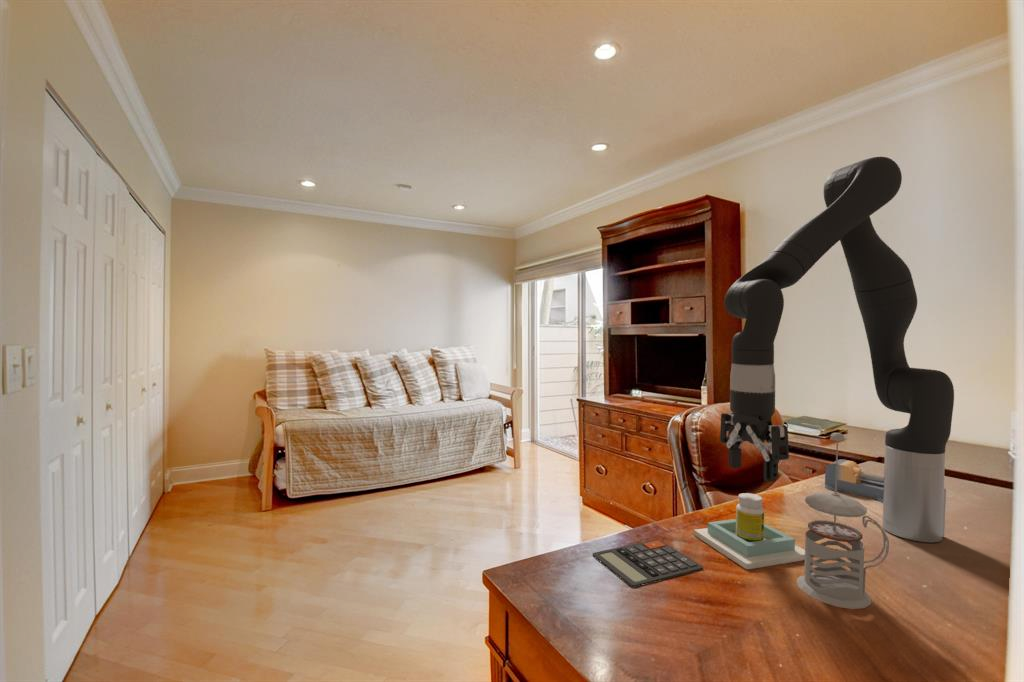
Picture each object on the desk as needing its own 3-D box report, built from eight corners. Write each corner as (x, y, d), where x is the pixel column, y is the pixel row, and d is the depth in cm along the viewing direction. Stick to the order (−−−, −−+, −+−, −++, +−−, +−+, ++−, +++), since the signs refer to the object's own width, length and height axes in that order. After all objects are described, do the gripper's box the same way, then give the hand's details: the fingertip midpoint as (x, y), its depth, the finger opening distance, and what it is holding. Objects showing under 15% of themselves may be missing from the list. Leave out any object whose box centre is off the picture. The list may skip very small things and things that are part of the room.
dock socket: (751, 526, 98) (751, 512, 98) (811, 558, 85) (811, 542, 85) (693, 534, 95) (693, 519, 94) (746, 569, 81) (747, 552, 81)
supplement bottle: (767, 547, 87) (768, 502, 87) (739, 545, 88) (740, 500, 88) (758, 535, 92) (759, 492, 91) (732, 533, 93) (733, 491, 92)
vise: (821, 488, 122) (822, 463, 122) (836, 480, 129) (836, 456, 128) (911, 510, 108) (912, 481, 108) (922, 500, 115) (923, 472, 114)
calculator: (704, 565, 81) (632, 584, 75) (704, 571, 81) (632, 590, 75) (657, 537, 92) (591, 552, 86) (657, 542, 92) (591, 557, 86)
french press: (793, 568, 82) (797, 423, 81) (876, 585, 77) (882, 430, 76) (800, 598, 73) (804, 436, 72) (895, 619, 68) (901, 444, 67)
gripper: (801, 392, 83) (800, 484, 84) (740, 382, 97) (740, 461, 97) (766, 394, 81) (765, 488, 81) (709, 384, 95) (709, 465, 95)
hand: (751, 473), depth 89 cm, fingers open, 8 cm apart
